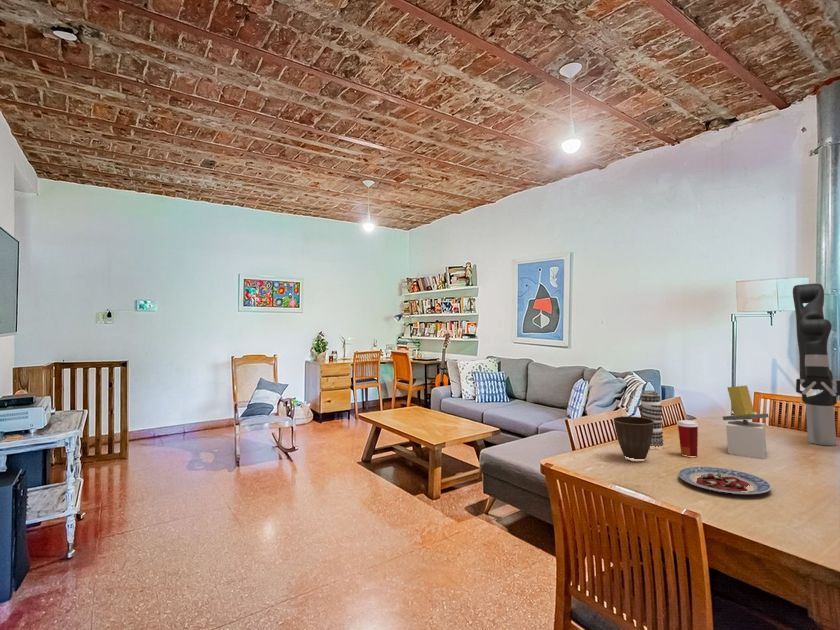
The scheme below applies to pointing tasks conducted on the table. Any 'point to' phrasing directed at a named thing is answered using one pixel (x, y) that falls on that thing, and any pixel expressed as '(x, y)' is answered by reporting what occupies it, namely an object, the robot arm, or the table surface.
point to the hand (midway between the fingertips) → (819, 404)
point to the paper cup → (688, 437)
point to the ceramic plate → (724, 480)
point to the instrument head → (742, 404)
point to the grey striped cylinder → (652, 414)
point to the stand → (746, 438)
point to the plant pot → (634, 435)
